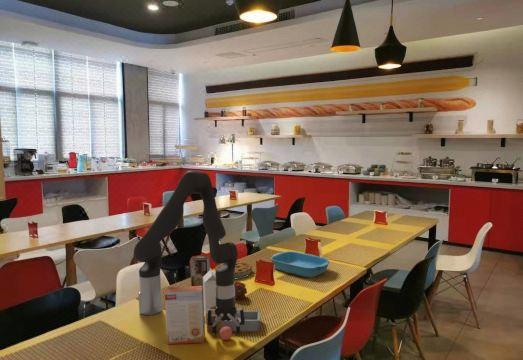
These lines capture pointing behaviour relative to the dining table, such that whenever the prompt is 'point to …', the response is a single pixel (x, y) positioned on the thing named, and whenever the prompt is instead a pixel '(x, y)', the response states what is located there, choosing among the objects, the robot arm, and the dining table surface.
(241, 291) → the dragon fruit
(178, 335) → the cracker box
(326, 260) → the casserole dish
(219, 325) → the ramp
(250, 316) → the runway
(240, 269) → the pie
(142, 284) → the robot arm
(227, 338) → the ball
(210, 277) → the milk carton
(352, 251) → the dining table surface
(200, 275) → the coffee box
